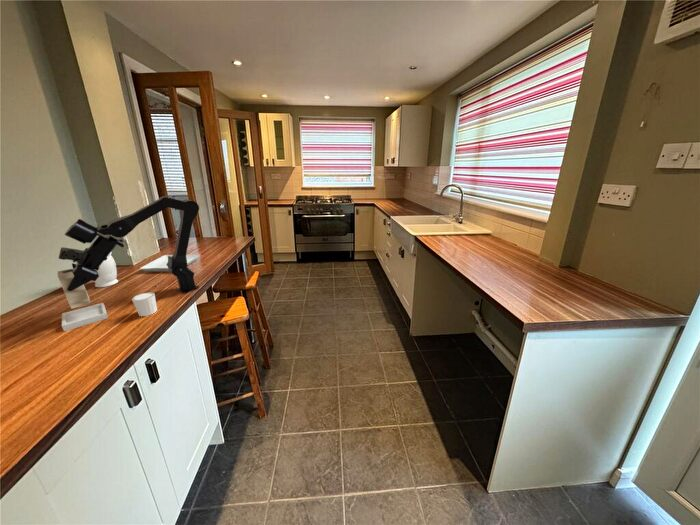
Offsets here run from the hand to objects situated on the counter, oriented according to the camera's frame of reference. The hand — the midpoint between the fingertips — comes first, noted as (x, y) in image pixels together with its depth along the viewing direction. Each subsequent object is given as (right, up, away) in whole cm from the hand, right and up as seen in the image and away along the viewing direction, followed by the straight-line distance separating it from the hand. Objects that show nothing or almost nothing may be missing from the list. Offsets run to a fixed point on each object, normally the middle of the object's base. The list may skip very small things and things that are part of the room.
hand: (68, 288), depth 97 cm
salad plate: (+1, +6, +56) cm, 56 cm away
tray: (+1, -11, +5) cm, 13 cm away
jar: (-16, -1, +34) cm, 38 cm away
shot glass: (+22, -10, +8) cm, 25 cm away
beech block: (+1, -6, +3) cm, 7 cm away
